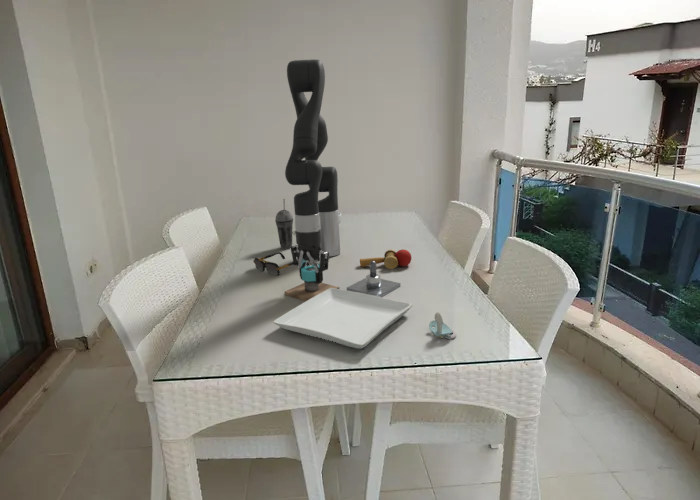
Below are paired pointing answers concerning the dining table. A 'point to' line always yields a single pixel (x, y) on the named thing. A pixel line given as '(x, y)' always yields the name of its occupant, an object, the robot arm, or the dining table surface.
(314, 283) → the rod stand
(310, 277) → the ring
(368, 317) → the square plate
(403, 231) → the dining table surface
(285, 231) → the beverage cup
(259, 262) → the sunglasses
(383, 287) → the hub
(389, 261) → the kendama
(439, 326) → the pacifier
